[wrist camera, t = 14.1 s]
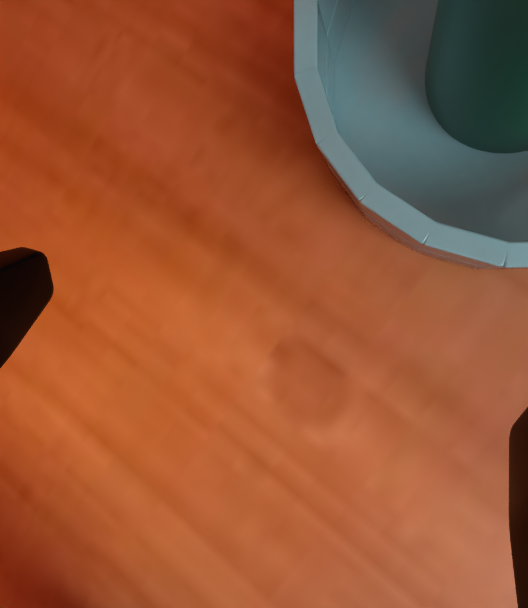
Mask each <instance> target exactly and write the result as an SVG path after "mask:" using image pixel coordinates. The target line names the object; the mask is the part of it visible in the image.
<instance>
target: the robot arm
mask: <svg viewBox="0 0 528 608" xmlns="http://www.w3.org/2000/svg"><path fill="white" fill-rule="evenodd" d="M53 289H54V287H53V282H52V278H51V273H50V269H49V264H48V260H47V257H46V256H45V255H44V254H43V253H42V252H40V251H36V250H33V249H29V248H25V247H20V248H15V249H11V250H6V251H2V252H0V368H1V367H2V366H3V365H4V363H5V362H6V361H7V360H8V358H9V357H10V356H11V354H12V353H13V352H14V350H15V349H16V348H17V346H18V345H19V343H20V342H21V340H22V339H23V338H24V336H25V335H26V333H27V332H28V331H29V329H30V328H31V326H32V325H33V323H34V322H35V321H36V319H37V318H38V316H39V315H40V314H41V312H42V311H43V309H44V308H45V306H46V305H47V304H48V302H49V301H50V299H51V297H52V295H53ZM509 530H510V541H511V550H512V559H513V568H514V577H515V585H516V594H517V603H518V608H528V407H527V408H526V410H525V411H524V412H523V413H522V415H521V416H520V417H519V418H518V420H517V421H516V422H515V423H514V425H513V427H512V429H511V432H510V436H509Z"/></svg>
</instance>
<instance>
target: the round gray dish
mask: <svg viewBox="0 0 528 608" xmlns="http://www.w3.org/2000/svg"><path fill="white" fill-rule="evenodd" d="M437 3H438V0H294V2H293V7H294V79H295V82H296V85H297V88H298V91H299V94H300V97H301V100H302V103H303V107H304V110H305V113H306V116H307V119H308V122H309V125H310V128H311V131H312V134H313V138H314V141H315V143H316V145H317V147H318V149H319V150H320V152H321V154H322V156H323V157H324V159H325V161H326V163H327V165H328V166H329V168H330V170H331V172H332V173H333V175H334V177H335V178H336V179H337V181H338V182H339V183H340V185H341V186H342V187H343V189H344V190H345V191H346V193H347V194H348V195H349V197H350V198H351V199H352V201H353V202H354V203H355V205H356V206H357V207H358V209H359V210H360V211H361V213H362V214H363V215H364V217H366V218H367V220H369V221H370V222H372V223H373V224H375V225H376V226H378V227H379V228H380V229H382V230H383V231H384V232H386V233H387V234H388V235H390V236H391V237H392V238H394V239H396V240H397V241H399V242H401V243H403V244H404V245H406V246H407V247H409V248H410V249H412V250H415V251H416V252H418V253H422V254H425V255H429V256H431V257H434V258H437V259H440V260H444V261H448V262H452V263H456V264H460V265H463V266H467V267H470V268H477V269H514V268H528V151H523V152H517V153H491V152H485V151H481V150H477V149H474V148H471V147H469V146H467V145H465V144H463V143H461V142H459V141H458V140H456V139H455V138H453V137H452V136H451V135H450V134H448V133H447V132H446V131H445V130H444V129H443V128H442V126H441V125H440V124H439V123H438V121H437V120H436V118H435V116H434V115H433V113H432V111H431V108H430V106H429V103H428V99H427V96H426V89H425V71H426V64H427V58H428V53H429V47H430V42H431V36H432V31H433V25H434V20H435V14H436V9H437Z"/></svg>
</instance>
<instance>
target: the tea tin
mask: <svg viewBox="0 0 528 608" xmlns="http://www.w3.org/2000/svg"><path fill="white" fill-rule="evenodd" d="M425 89H426V96H427V99H428V103H429V106H430V108H431V111H432V113H433V115H434V116H435V118H436V120H437V121H438V123H439V124H440V125H441V126H442V128H443V129H444V130H445V131H446V132H447V133H448V134H450V135H451V136H452V137H453V138H455V139H456V140H458V141H459V142H461V143H463V144H465V145H467V146H469V147H471V148H474V149H477V150H481V151H485V152H491V153H517V152H523V151H528V0H438V3H437V9H436V14H435V20H434V25H433V31H432V36H431V42H430V47H429V53H428V58H427V64H426V71H425Z"/></svg>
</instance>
